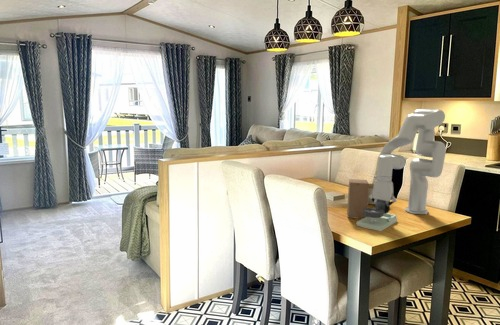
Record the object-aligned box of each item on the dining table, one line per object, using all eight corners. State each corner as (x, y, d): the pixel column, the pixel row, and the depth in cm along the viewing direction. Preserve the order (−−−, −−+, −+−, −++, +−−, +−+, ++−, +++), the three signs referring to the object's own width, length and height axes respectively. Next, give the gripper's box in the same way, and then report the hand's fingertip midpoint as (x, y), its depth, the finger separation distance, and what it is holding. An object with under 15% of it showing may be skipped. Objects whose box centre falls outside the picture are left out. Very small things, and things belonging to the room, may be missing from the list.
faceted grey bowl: (368, 211, 205) (368, 207, 204) (384, 215, 199) (385, 210, 198) (360, 215, 198) (361, 210, 197) (377, 218, 192) (378, 214, 192)
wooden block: (366, 219, 212) (368, 183, 208) (347, 217, 213) (349, 182, 210) (364, 213, 221) (367, 179, 218) (347, 212, 223) (349, 178, 220)
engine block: (379, 210, 211) (380, 198, 210) (388, 212, 208) (389, 199, 206) (374, 212, 206) (375, 200, 205) (383, 214, 203) (384, 201, 202)
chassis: (374, 216, 217) (374, 202, 215) (397, 221, 208) (398, 207, 207) (356, 225, 200) (357, 210, 199) (380, 231, 192) (382, 215, 190)
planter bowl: (352, 201, 247) (353, 185, 245) (368, 198, 257) (369, 182, 255) (374, 207, 234) (375, 190, 233) (389, 203, 244) (391, 187, 242)
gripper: (365, 177, 207) (363, 210, 210) (397, 182, 196) (394, 216, 199) (371, 175, 212) (369, 207, 215) (402, 180, 201) (399, 213, 204)
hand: (381, 211), depth 207 cm, fingers closed on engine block, 5 cm apart
